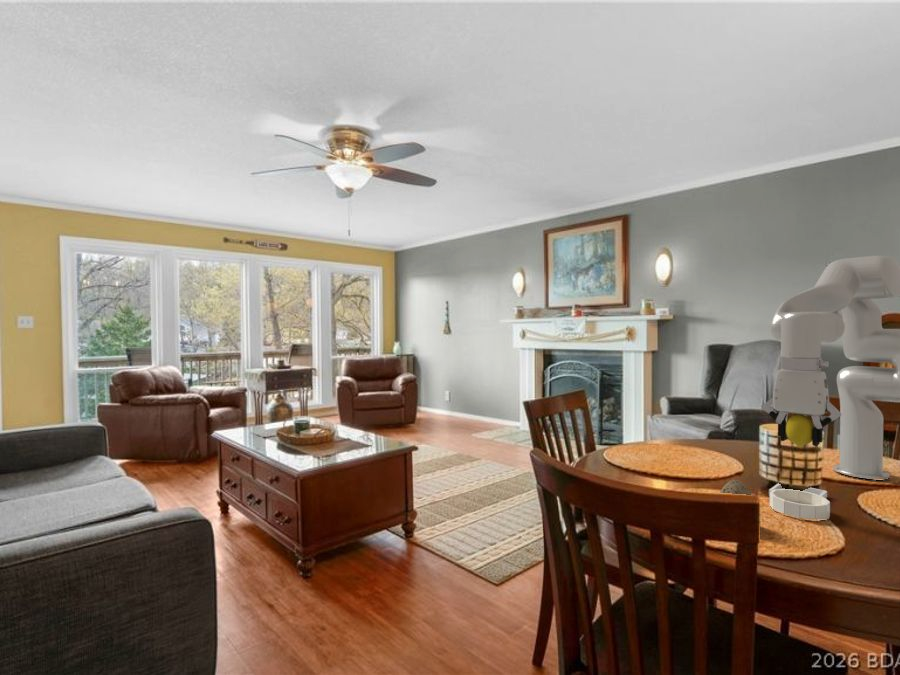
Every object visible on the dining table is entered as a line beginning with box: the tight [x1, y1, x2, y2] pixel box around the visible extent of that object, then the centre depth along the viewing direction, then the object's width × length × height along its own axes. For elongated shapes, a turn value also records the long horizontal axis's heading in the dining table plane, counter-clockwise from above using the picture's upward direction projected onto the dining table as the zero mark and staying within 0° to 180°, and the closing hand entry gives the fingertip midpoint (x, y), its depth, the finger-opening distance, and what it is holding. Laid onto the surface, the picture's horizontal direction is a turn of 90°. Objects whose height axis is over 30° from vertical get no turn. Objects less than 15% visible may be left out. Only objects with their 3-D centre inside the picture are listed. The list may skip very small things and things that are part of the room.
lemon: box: [785, 414, 815, 448], centre depth 111 cm, size 6×6×8 cm
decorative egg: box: [719, 479, 753, 496], centre depth 104 cm, size 7×7×10 cm
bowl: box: [769, 488, 831, 521], centre depth 111 cm, size 11×11×4 cm
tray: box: [768, 482, 828, 499], centre depth 121 cm, size 10×10×2 cm
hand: (799, 441), depth 111 cm, fingers closed on lemon, 5 cm apart
